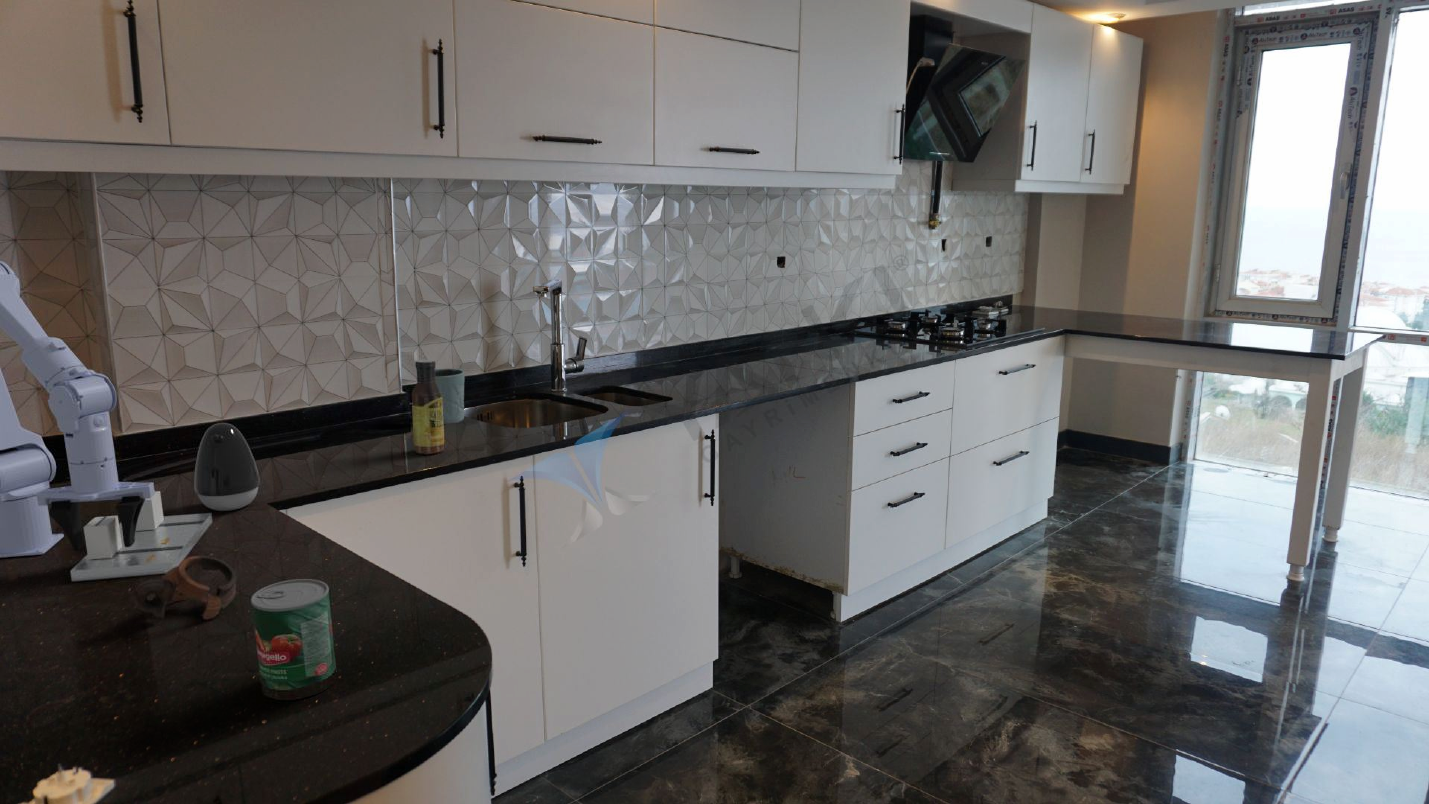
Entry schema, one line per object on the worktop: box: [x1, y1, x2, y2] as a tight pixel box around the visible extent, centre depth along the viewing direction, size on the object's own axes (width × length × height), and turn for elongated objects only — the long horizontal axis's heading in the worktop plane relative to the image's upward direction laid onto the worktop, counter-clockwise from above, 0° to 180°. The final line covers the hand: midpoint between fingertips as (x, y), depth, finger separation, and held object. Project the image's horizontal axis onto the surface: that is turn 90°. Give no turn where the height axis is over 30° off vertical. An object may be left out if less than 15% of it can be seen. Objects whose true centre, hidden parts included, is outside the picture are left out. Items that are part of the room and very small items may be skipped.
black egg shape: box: [193, 422, 261, 512], centre depth 161 cm, size 10×10×15 cm
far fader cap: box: [136, 490, 164, 531], centre depth 148 cm, size 3×4×5 cm
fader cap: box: [83, 515, 122, 560], centre depth 137 cm, size 3×4×5 cm
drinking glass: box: [435, 367, 465, 425], centre depth 225 cm, size 10×10×12 cm
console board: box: [70, 512, 213, 582], centre depth 143 cm, size 13×22×2 cm, turn 15°
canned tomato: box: [250, 578, 337, 690], centre depth 103 cm, size 8×8×11 cm
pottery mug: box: [132, 555, 238, 620], centre depth 121 cm, size 12×10×8 cm
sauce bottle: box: [411, 359, 445, 455], centre depth 197 cm, size 6×6×20 cm
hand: (104, 546), depth 137 cm, fingers open, 6 cm apart
